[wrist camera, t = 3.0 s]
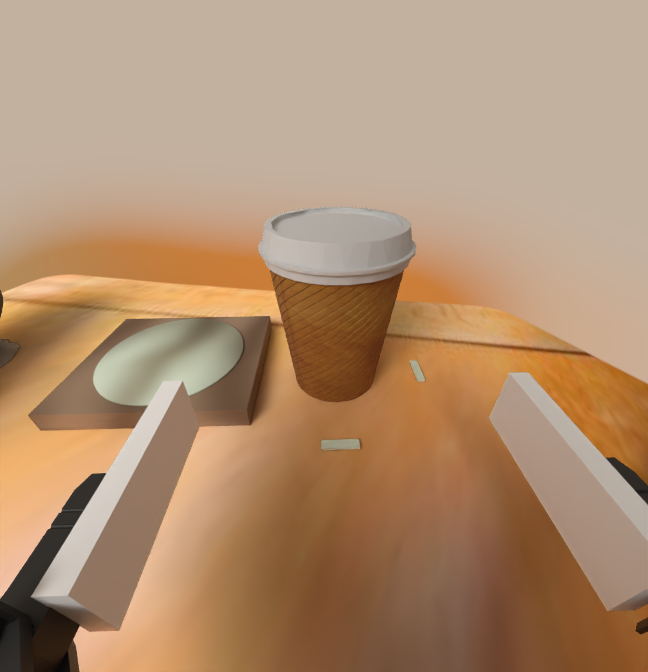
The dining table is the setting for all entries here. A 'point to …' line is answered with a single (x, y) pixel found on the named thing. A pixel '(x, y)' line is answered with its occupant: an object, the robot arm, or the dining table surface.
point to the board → (163, 373)
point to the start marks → (354, 443)
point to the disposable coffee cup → (336, 291)
